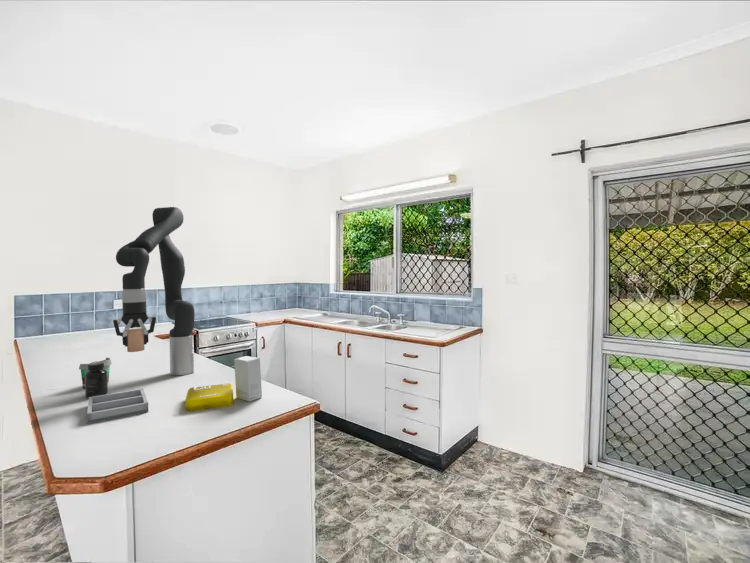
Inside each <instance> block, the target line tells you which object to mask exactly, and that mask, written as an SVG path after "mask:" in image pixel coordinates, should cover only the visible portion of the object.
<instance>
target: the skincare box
mask: <svg viewBox="0 0 750 563" xmlns="http://www.w3.org/2000/svg"><path fill="white" fill-rule="evenodd" d="M233 361H234V362H233V364H234V380H235V398H236V399H240V400H243V401H246V402H253V401H255V400H258V399H261V398H263V397H262V396H263V391H262V388H263V387H262V376H261V374H262V373H261V372H262V371H261V358H260V357H255V356H249V355H246V356H240V357H237V358H234V360H233Z"/></svg>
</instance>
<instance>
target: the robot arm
mask: <svg viewBox="0 0 750 563" xmlns="http://www.w3.org/2000/svg"><path fill="white" fill-rule="evenodd" d="M183 223H184V214H183V212H182V210H181V209H180V208H178V207H176V206H175V207H174V206H168V207H167V206H166V207H165V206H163V207H156V208H154V209H153V211H152V224H153V226H151V227H149V228H147V229H145V230H143V232H141V233H140V234H139V235H138V236H137V237H136V238H135V239H134V240H132V241H130V242H129V243H127V244H125V245H123V246H122V247H120V248H119V249H118V250H117V252H116V255H115V261H116V263H117V264H118V265H119V266H121V267H127V268H128V267H129V268H130V267H133V269H132V271H131V272H127V273H124V274H123V275H122V292H121V293H122V294H121V297H122V298H121V302H122V316H121V318H117V319H113V320H112V323H113V327H114V330H115V333H116V336H119V337H122V345H123V346H124V347H125V348H127V333H128V331H129V329H135V328H142V329H143V331H144V346H145V345H147V344H148V343H149V334H151V333H154V332H155V326H156V320H157V318H156V316H148V314H147V294H146V286H145V284H146V282H145V277H146V273H147V270H148V266H149V262H150V255H149V254H150V253H152V252H153V251H154V250H155V248H156V247H157V246H158V250H159V257H160V258H159V259H160V267H161V273H162V280H163V286H164V296H165V297H164V298H165V299H164V302H165V305H164V306H165V314H166V316H167V317H168V319H170V320H172V321H174V326H173V328H172V329H170V330H169V375H170V376H185V375H189V374H193V373H195V369H194V368H195V366H194V365H195V363H194V361H195V360H194V358H195V357H194V355H195V354H194V352H193V331H194V328H195V307H194V305H193V303H191V301H187V300H184V299H183V295H182V286H183V281H184V278H185V274H186V266H185V260H184V256H183V254H182V253H181V251H180V250H179V249H178V248H177V246H176V245H175V244H174V242H173V241H172V239H171V237H170V234H172V233H173V232H174V231H176V230H177V229H179V228H180V227H181V226H183ZM147 320H148V322H149V323H150V326H149V328H148V329H147V327H146V326H145V323H146V322H147ZM121 322H122V323H123V324H124V325H125V327H124V330H123V331H121V330H120V327H119V326H120V325H121Z"/></svg>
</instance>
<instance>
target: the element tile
mask: <svg viewBox="0 0 750 563" xmlns="http://www.w3.org/2000/svg"><path fill="white" fill-rule="evenodd" d="M233 405H234V388H233V384H232V383H221V384H214V385H213V384H212V385H203V386H202V385H201V386H200V385H199V386H195V387H190V388H188V390H187V393H186V396H185V411H186V412H197V411H198V412H199V411H205V410H212V409H213V410H214V409H219V408H221V409H222V408H226V407H227V408H228V407H232V406H233Z"/></svg>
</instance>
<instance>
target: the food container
mask: <svg viewBox="0 0 750 563" xmlns="http://www.w3.org/2000/svg"><path fill="white" fill-rule="evenodd" d="M99 362H102V363H104V368H103V369H105V370H106V371H107V378H108V383H109V380H110V367H111V365H113V362H112V359H111V358H110V357H105V359H104V360H99V361H92V362H90V363H79V367H78V370H80V375H81V384H82V388H83V389H85V374H86V373H87V372H88V371H89V370H88V365H89V364H92V363H99Z"/></svg>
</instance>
